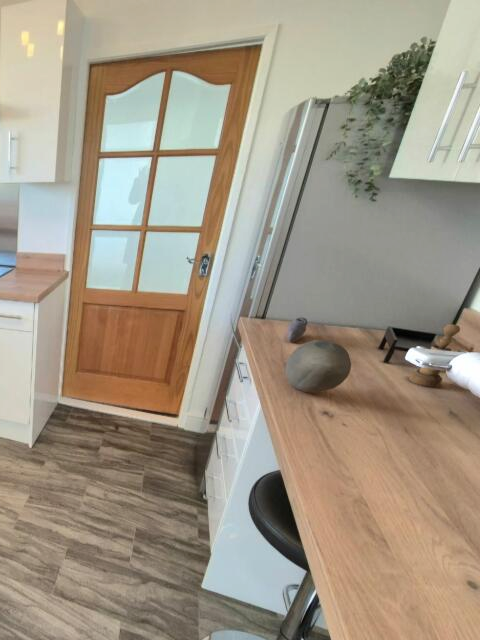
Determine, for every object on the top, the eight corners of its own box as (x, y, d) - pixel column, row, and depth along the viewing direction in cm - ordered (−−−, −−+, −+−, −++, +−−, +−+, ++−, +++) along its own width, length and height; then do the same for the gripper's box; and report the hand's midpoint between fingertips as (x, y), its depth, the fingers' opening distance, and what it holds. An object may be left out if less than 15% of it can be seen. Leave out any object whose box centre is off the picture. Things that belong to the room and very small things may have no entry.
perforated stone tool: (296, 346, 153) (303, 327, 150) (279, 342, 156) (285, 324, 153) (305, 335, 162) (311, 318, 159) (288, 332, 165) (294, 315, 162)
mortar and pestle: (410, 375, 131) (439, 319, 123) (440, 382, 127) (472, 325, 119) (406, 381, 128) (436, 324, 120) (437, 389, 123) (470, 330, 115)
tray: (424, 355, 145) (436, 333, 142) (433, 371, 134) (446, 348, 130) (378, 347, 152) (388, 326, 148) (383, 362, 140) (394, 339, 137)
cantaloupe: (267, 386, 124) (284, 338, 118) (294, 377, 130) (313, 330, 123) (321, 408, 113) (343, 356, 106) (348, 396, 119) (371, 347, 112)
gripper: (417, 375, 116) (390, 356, 128) (515, 386, 110) (478, 365, 122) (428, 354, 113) (399, 336, 125) (530, 364, 107) (490, 344, 119)
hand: (439, 350), depth 123 cm, fingers open, 8 cm apart
